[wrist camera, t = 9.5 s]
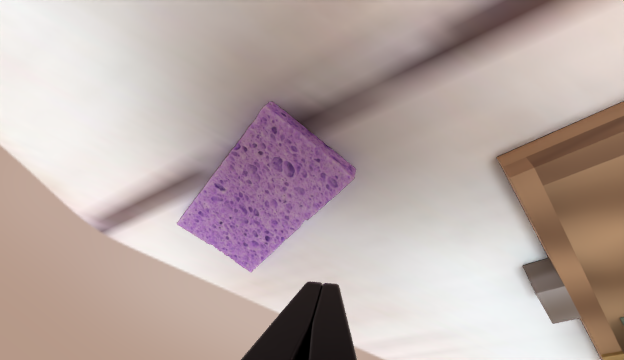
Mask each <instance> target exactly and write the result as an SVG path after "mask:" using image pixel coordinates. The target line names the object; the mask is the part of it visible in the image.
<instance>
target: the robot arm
mask: <svg viewBox="0 0 624 360" xmlns="http://www.w3.org/2000/svg"><path fill="white" fill-rule="evenodd" d="M241 360H357V358H356V354H355V350H354V345H353V341H352V337H351V333H350V329H349V325H348V321H347V317H346V313H345V308H344V304H343V300H342V296H341V292H340V288H339V285H337V284H331V283H324V284H322V283H319V282H307V283H306V284H305V285H304V286H303V287H302V289H301V290H300V291H299V292H298V293H297V294H296V296H295V297H294V298H293V299H292V300H291V301H290V303H289V304H288V305H287V306H286V307H285V309H284V310H283V311H282V312H281V313H280V314H279V316H278V317H277V318H276V319H275V320H274V321H273V323H272V324H271V325H270V326H269V327H268V329H267V330H266V331H265V332H264V333H263V334H262V336H261V337H260V338H259V339H258V340H257V341H256V343H255V344H254V345H253V346H252V347H251V349H250V350H249V351H248V352H247V353H246V355H245V356H244V357H243V358H242V359H241Z"/></svg>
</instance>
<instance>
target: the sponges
mask: <svg viewBox="0 0 624 360" xmlns="http://www.w3.org/2000/svg"><path fill="white" fill-rule="evenodd" d="M355 172H356V169H355V168H354V167H353V166H352V165H351V164H350V163H348V162H347V161H346V160H345V159H343V158H342V157H341V156H340V155H338V154H337V153H336V152H335V151H333V150H332V149H331V148H330V147H328V146H327V145H325V144H324V143H323V142H322V141H321V140H320V139H319V138H318V137H316V136H315V135H314V134H312V133H311V132H309V131H308V130H307V129H306V128H305V127H304V126H303V125H301V124H300V123H299V122H298V121H296V120H295V119H294V118H293V117H291V116H290V115H289V114H288V113H287V112H286V111H284V110H283V109H281V108H280V107H279V106H278V105H276V104H275V103H274V102H268V104H267V105H265V106H264V107H263V108H262V109H261V111H260V112H259V114H258V116H257V117H256V119H255V120H254V121H253V122H252V124H251V125H250V126H249V127H248V129H247V130H246V132H245V133H244V135H243V136H242V137H241V139H240V140H239V141H238V143H237V144H236V146H235V147H234V148H233V149H232V150H231V152H230V153H229V155H228V156H227V157H226V159H225V160H224V161H223V162H222V164H221V165H220V167H219V168H218V169H217V171H216V172H215V173H214V174H213V176H212V177H211V178H210V179H209V181H208V182H207V184H206V185H205V186H204V188H203V189H202V191H201V192H200V193H199V194H198V196H197V197H196V198H195V200H194V201H193V203H192V204H191V205H190V206H189V208H188V209H187V210H186V212H185V213H184V214H183V216H182V217H181V218H180V220H179V221H178V223H177V225H179V226H181V227H182V228H184V229H185V230H187V231H189V232H191V233H192V234H194V235H195V236H197V237H198V238H200V239H201V240H203V241H205V242H206V243H208V244H212V245H213V246H214V247H215V248H217V249H218V250H219V251H222V252H223V253H224V254H225V255H226V256H229V257H230V258H231V259H234V261H235V262H236V263H238V264H239V265H241V266H242V267H244V268H245V269H247V270H248V271H250V272H252V271H253V269H255V268H256V267H257V266H259V264H260V263H262V261H263V260H264V259H265V258H267V257H268V256H269V255H270V254H271V253H272V252H273V251H274V250H275V249H276V248H277V247H278V246H279V245H280V244H282V243H283V241H284V240H285V239H287V238H288V237H289V236H290V235H291V234H293V233H294V232H295V231H296V230H297V229H298V228H299V227H300V226H301V224H302V223H303V222H304V220H308V219H309V218H310V217H312V216H313V215H314V214H315V213H317V212H318V210H320V209H321V208H322V207H323V206H325V205H326V203H327V202H328V201H330V200H331V199H332V198H334V197H335V196H336V195H337V194H338V193H339V192H340V191H341V190H342V189H343V188H345V187H346V186H347V185H348V184H349V183H350V182H351V181H352V180H353V179H354V178H355V177H354V176H355Z"/></svg>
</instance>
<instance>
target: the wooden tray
mask: <svg viewBox="0 0 624 360" xmlns="http://www.w3.org/2000/svg"><path fill="white" fill-rule="evenodd" d="M497 159H498V161H499V163H500V165H501V167H502V169H503V171H504V173H505V175H506V177H507V179H508V181H509V182H510V184H511V186H512V188H513V190H514V192H515V194H516V196H517V198H518V200H519V202H520V204H521V206H522V208H523V209H524V211H525V213H526V215H527V217H528V219H529V221H530V223H531V225H532V227H533V229H534V231H535V233H536V235H537V236H538V238H539V240H540V242H541V244H542V246H543V248H544V250H545V252H546V254H547V256H548V258H547V259H544V260H540V261H537V262H534V263H530V264H527V265H523V268H524V270H525V272H526V274H527V276H528V278H529V280H530V282H531V285H532V287H533V289H534V291H535V293H536V295H537V297H538V299H539V300H540V302H541V304H542V306H543V307H544V309H545V311H546V313H547V314H548V316H549V318H550V320H551V322H552V323H553V324H555V323H559V322H564V321H568V320H573V319H578V318H580V319H581V321H582V323H583V325H584V327H585V329H586V331H587V333H588V335H589V337H590V339H591V341H592V343H593V344H594V346H595V348H596V350H597V352H598V354H599V356H600V358H601V360H624V326H623V324H622V322H621V320H620V318H622V317H624V102H621V103H619V104H617V105H614V106H612V107H610V108H608V109H605V110H603V111H601V112H599V113H596V114H594V115H592V116H589V117H587V118H585V119H583V120H580V121H578V122H576V123H574V124H571V125H569V126H567V127H564V128H562V129H560V130H558V131H555V132H553V133H551V134H548V135H546V136H544V137H542V138H539V139H537V140H535V141H533V142H530V143H528V144H526V145H523V146H521V147H519V148H517V149H514V150H512V151H510V152H508V153H505V154H503V155H501V156H498V157H497Z"/></svg>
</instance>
